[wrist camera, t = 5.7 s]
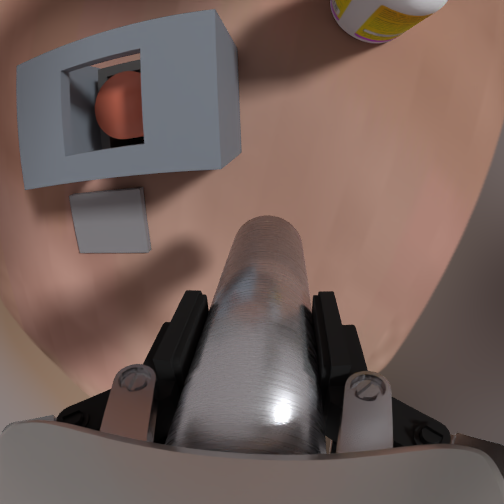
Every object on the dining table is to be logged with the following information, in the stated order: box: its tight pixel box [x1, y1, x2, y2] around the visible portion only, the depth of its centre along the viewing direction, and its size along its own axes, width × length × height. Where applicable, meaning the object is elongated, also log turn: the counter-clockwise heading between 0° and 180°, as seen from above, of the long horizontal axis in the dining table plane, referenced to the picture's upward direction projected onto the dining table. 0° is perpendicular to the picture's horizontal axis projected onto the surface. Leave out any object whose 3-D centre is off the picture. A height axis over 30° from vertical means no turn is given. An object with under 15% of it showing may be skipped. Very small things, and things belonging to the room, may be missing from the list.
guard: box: [16, 9, 241, 190], centre depth 20 cm, size 14×9×10 cm, turn 92°
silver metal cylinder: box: [165, 216, 326, 455], centre depth 12 cm, size 4×4×14 cm
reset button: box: [95, 71, 144, 139], centre depth 20 cm, size 5×5×3 cm
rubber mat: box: [69, 187, 151, 253], centre depth 28 cm, size 8×6×1 cm
